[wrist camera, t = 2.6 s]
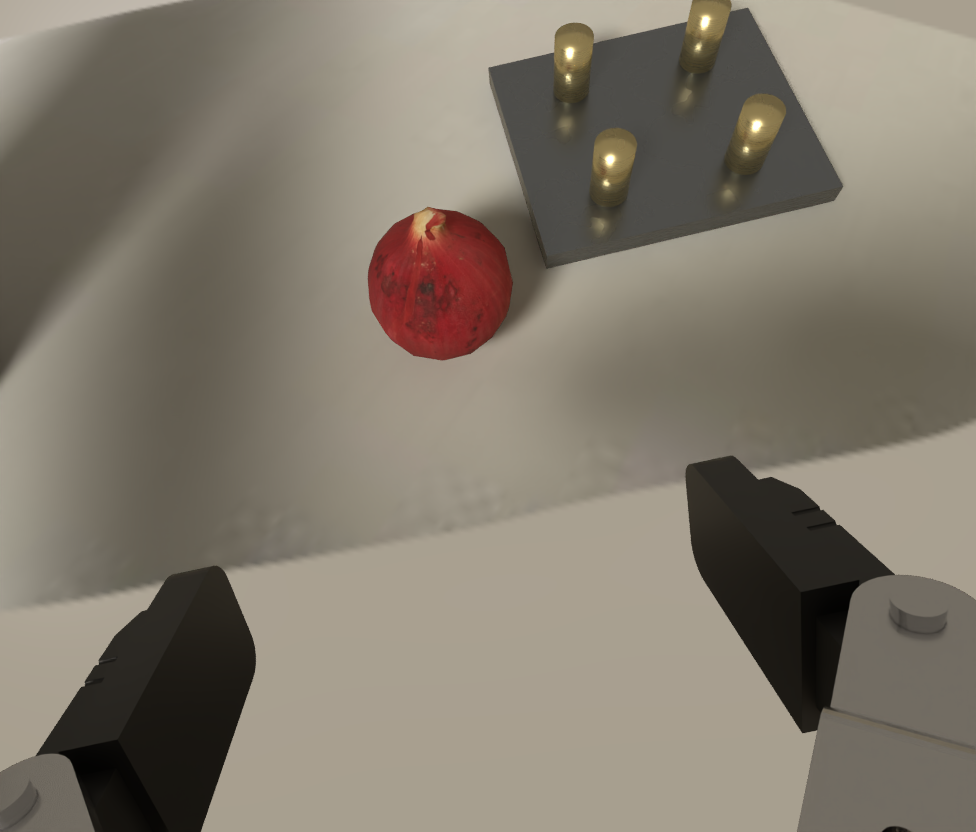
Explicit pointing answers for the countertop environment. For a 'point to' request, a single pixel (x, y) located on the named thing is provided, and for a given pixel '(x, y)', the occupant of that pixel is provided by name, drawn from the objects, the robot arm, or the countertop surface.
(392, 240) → the onion
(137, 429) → the countertop surface
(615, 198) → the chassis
